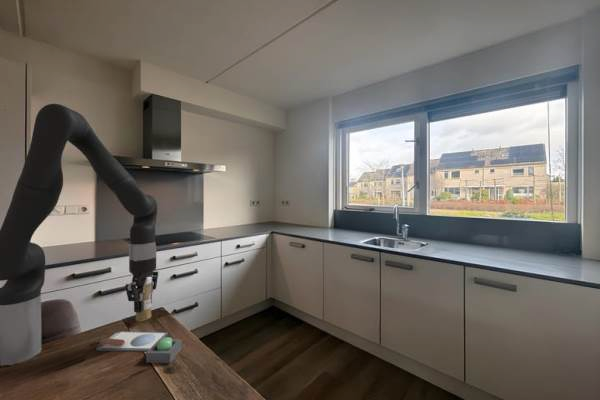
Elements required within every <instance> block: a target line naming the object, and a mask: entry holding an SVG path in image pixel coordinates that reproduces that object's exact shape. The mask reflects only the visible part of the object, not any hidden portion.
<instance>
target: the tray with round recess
mask: <svg viewBox="0 0 600 400" xmlns="http://www.w3.org/2000/svg"><path fill="white" fill-rule="evenodd" d="M168 334H169V332H167V331H166V332H165V331H164V332H163V331H127V330H126V331H124V330H123V331H122V330H121V331H120V330H119V331H118V332H115V333H113V334H112V335H111V336H110V337H109V338H110V339H120V340H124V341H125V343H124V345H122V346H120V345H110V344H101V345H99V346H98V347H97V348H95V349H96V351H108V352H109V351H113V352H145V353H146V352H147V351H148V350H149V349H150V348H151V347H152V346H153V345H154V344H155V343H156V342H157V341H158V340H159V339H162V338H165V337H167V335H168Z"/></svg>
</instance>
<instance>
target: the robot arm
mask: <svg viewBox="0 0 600 400" xmlns="http://www.w3.org/2000/svg"><path fill="white" fill-rule="evenodd" d="M40 108H41V109H39V111H38V112H37V114H36V117H35V121H34V126H33V128H32V129H33V131H32V137H31V141H30V146H29V149H28V152H27V155H26V158H25V161H24V164H23V167H22V170H21V172H20V176H19V177H18V180H17V183H16V185H15V188H14V191H13V194H12V197H11V198H12V199H11V200H10V201H11V202H10V204H9V207H8V209H7V212H6V213H5V214H6V215H5V217H4V219H3V222H2V225H1V226H0V281H6V282H5V283H4V284H3V285H2V287H1V288H0V365H1V366H0V367H4V366H3V365H9V366H13V365H17V364H20V363H23V362H26V361H28V360H30V359H32V358H34V357H35V356H37V355H39V354H40V353H41V351H42V350H43V349H42V288H43V287H44V284H45V277H46V255H45V252H44V249H43V248H42V247H41V246H40V245H39V244H37V243H35V242H31V240H32V237H33V236H34V234H35V232H36V231H37V229H38V228H39V227H40V226H41V224H43V222H44V221H45V220H46V219H47V218H48V217H49V216H50V214H51V213H52V212H53V211H54V210H55V208H56V206H57V204H58V202H59V199H60V196H61V193H62V190H63V188H64V187H63V186H64V174H63V166H62V157H63V152H64V150H65V147H66V145H67V143H68V142H69V143H70V144H71V145H72V146H74V147H75V148H76V149H78V150H79V151H80V153H82V154H83V155H84V156H85V159H87V161H88V162H89V164H90V166H91V167H92V169H93V171H94V172H95V174H96V176H98V178H99V179H100V180H101V182H102V183H104V184H105V186H106V187H108V189H109V190H111V192H113V194H115V196H116V198H117V199H118V201H119V202H120V204H121V205H122V207H123V208H124V209H125V210H126V211H127V212H128V213H129V215H130V214H131V215H132V216H133V224H132V225H131V227H130V230H129V249H128V265H129V266H128V267H129V268H128V273H130V274H132V278H131V282H130V283H126V284H125V285H124V286H125V287H124V288H125V291H126V296H127V300H128V302H133V311H134V313H136V312H137V313H140V312H142V310H143V303H142V297H143V293H144V292H145V289H146V285H145V284H146V283H147V279H148V278H147V277H151V279H152V282H151V305H153V301H152V299H153V293H154V290H157V284H158V277H159V271H156V269H157V245H156V223H157V222H156V221H157V215H158V203H157V200H156V199H155V198H154V196H152V195H150V194H145V193H144V192H143V191H142V190H141V188H140V187H139V186H138V185H137V181H136V180H135V178H134V177H133V176H132V175H131V174H130V173H129V172H128V170H126V168H125V167H123V165H122V164H121V163H120V162H119V161H118V160H117V159H116V158H115V156H113V155H112V153H111V152H110V151H109V150H108V149H107V147H106V146H105V145H104V144H103V143H102V141H101V140H100V138H99V137H98V136H97V134H96V133H95V131H94V130H93V128H92V127H91V125H90V123H89V122H88V121H87V119H86V117H84V116H83V115H82V114H81V113H79V112H77V111H76V110H74V109H71V108H69V107H67V106H65V105H62V104H59V103H49V104H46V105H44V106H42V107H40ZM137 289H142V290H137ZM138 293H139V297H138Z"/></svg>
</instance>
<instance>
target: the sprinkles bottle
mask: <svg viewBox="0 0 600 400" xmlns="http://www.w3.org/2000/svg"><path fill="white" fill-rule="evenodd" d="M147 278H148V279H147V283H146V284H145V285H146V289H145V292H144V293H143V297H142V303H143V310H142V312H140V313H137V312H135V320H136V321H137V322H144V321H147V320H149V319H151V317H152V304H151V282H152V279H151V277H147ZM137 290H142V289H137ZM138 297H139V293H138Z"/></svg>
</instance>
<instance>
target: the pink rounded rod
mask: <svg viewBox="0 0 600 400" xmlns="http://www.w3.org/2000/svg"><path fill="white" fill-rule="evenodd" d="M124 343H125V341H124V340H120V339H110V337H103V338H101V341H100V344H101V345H102V344H110V345H120V346H122V345H124Z"/></svg>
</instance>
